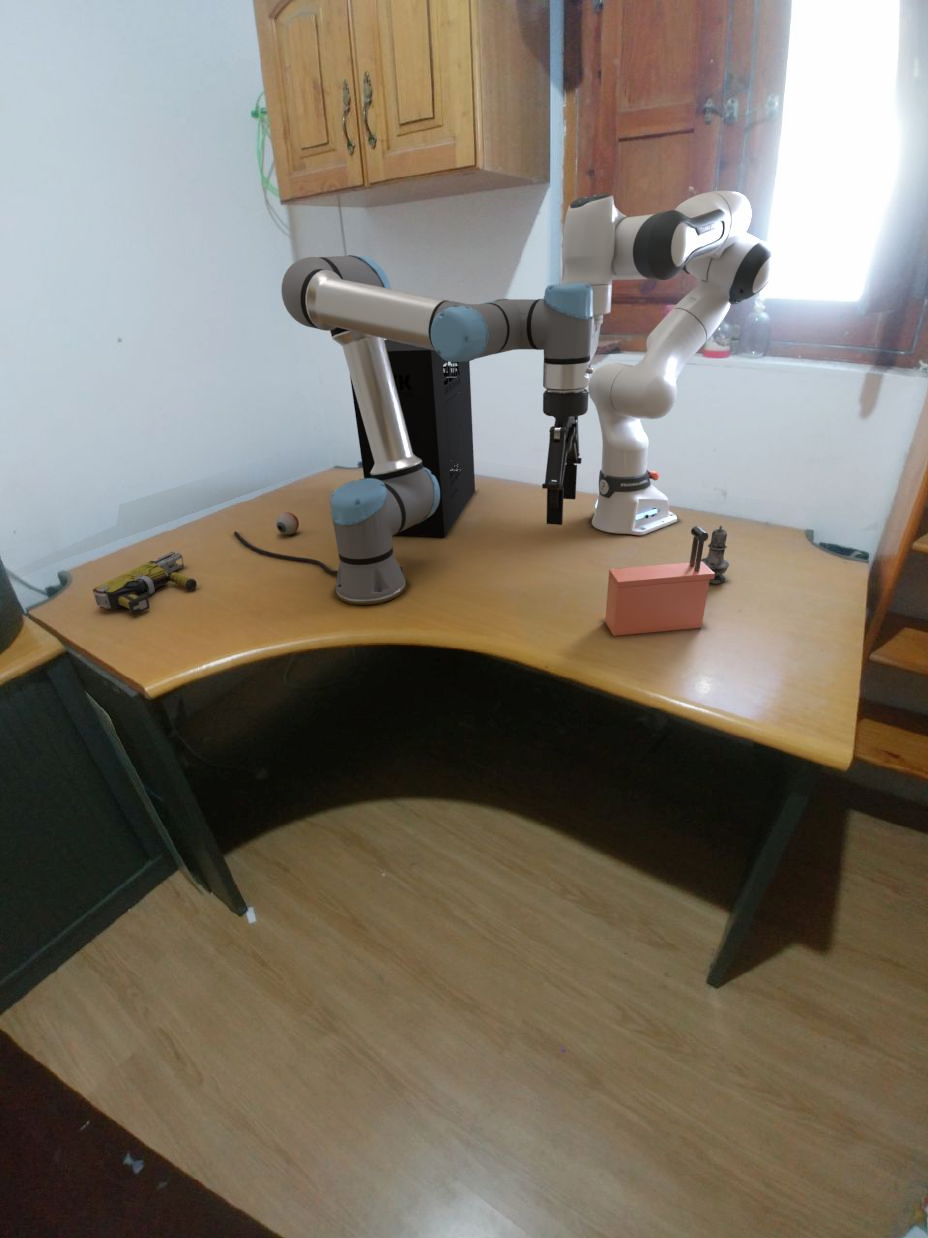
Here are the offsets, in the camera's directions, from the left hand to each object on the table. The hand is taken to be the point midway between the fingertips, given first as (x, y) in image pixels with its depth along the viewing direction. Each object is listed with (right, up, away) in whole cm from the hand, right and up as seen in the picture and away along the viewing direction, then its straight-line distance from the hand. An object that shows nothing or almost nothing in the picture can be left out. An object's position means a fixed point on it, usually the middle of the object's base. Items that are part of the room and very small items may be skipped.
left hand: (561, 510), depth 111 cm
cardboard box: (-29, +11, +64) cm, 71 cm away
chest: (+18, -21, +4) cm, 28 cm away
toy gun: (-87, -14, +27) cm, 92 cm away
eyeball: (-66, +3, +54) cm, 85 cm away
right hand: (+5, +25, +4) cm, 26 cm away
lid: (+18, -12, -1) cm, 22 cm away
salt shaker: (+35, -11, +19) cm, 42 cm away
